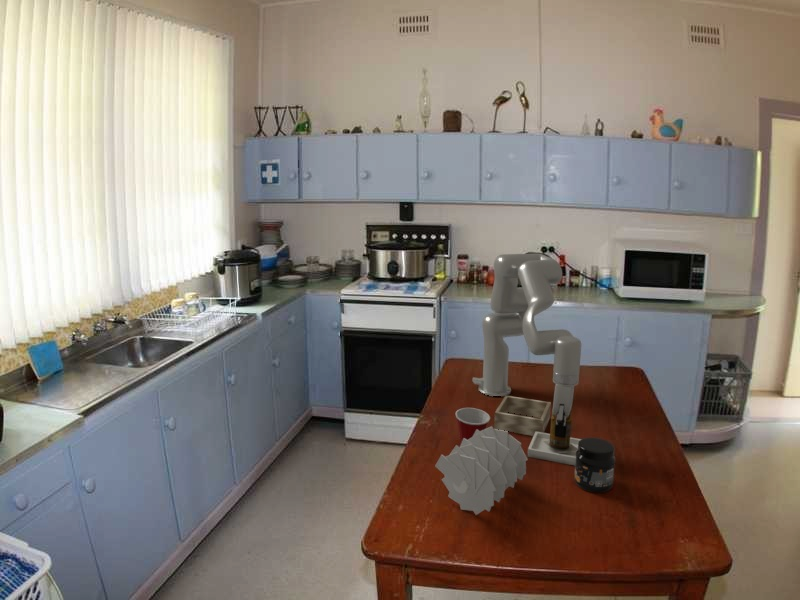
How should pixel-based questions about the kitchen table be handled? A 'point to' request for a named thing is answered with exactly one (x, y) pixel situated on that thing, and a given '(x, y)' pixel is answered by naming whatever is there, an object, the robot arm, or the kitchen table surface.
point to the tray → (550, 450)
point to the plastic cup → (471, 421)
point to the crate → (522, 422)
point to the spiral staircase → (482, 469)
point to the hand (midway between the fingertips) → (561, 431)
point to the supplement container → (594, 465)
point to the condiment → (557, 442)
